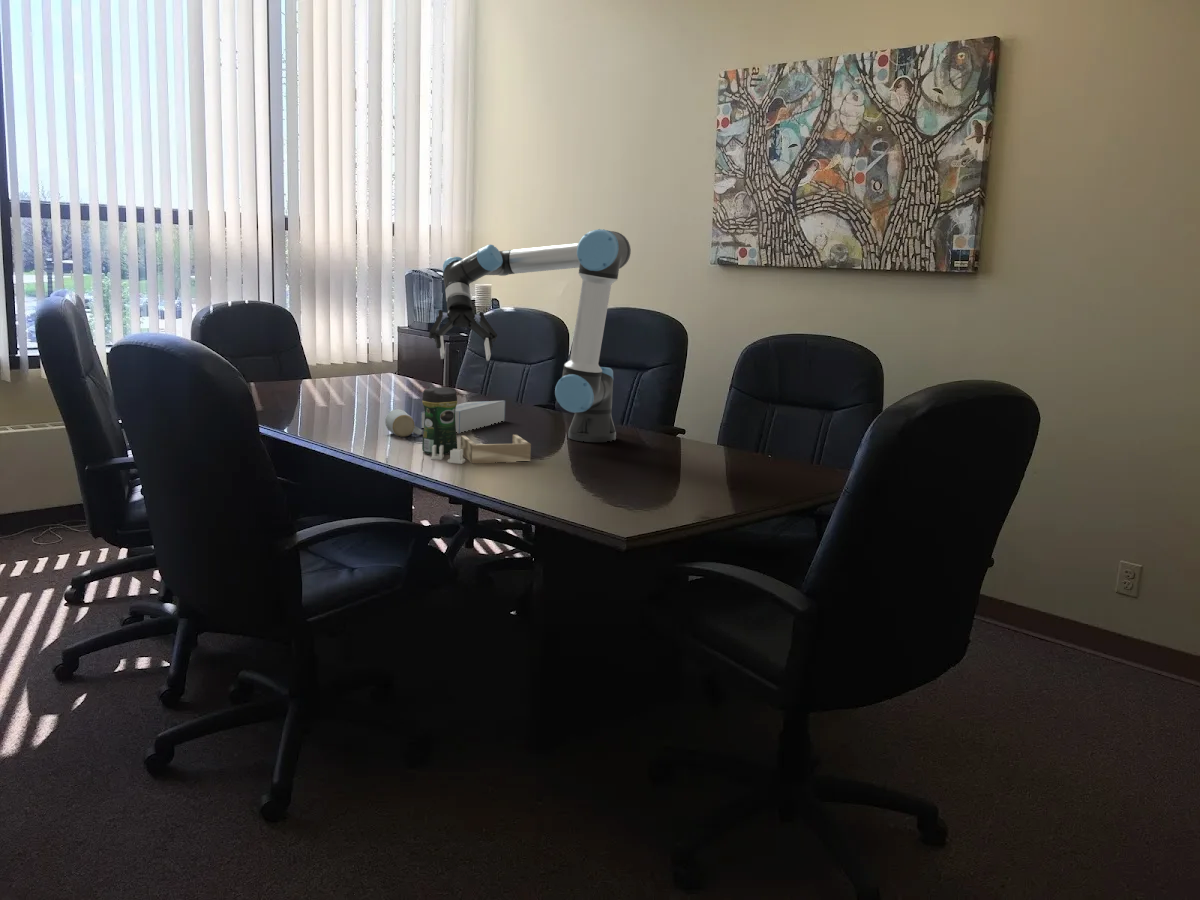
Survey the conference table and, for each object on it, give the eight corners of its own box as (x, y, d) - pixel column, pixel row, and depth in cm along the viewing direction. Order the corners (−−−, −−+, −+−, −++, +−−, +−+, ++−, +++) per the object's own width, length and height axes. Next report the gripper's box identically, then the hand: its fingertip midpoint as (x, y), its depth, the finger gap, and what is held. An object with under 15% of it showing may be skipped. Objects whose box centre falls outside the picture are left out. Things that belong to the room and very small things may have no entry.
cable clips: (437, 455, 269) (437, 443, 269) (470, 462, 263) (470, 449, 262) (425, 458, 265) (425, 446, 265) (458, 464, 259) (458, 452, 258)
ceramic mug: (392, 438, 292) (393, 413, 290) (384, 433, 299) (385, 409, 297) (426, 437, 297) (427, 412, 296) (417, 432, 304) (418, 408, 303)
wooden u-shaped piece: (460, 452, 275) (460, 435, 274) (516, 451, 281) (516, 434, 280) (472, 463, 261) (472, 445, 260) (530, 461, 267) (530, 444, 266)
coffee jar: (444, 448, 280) (445, 384, 277) (461, 452, 275) (462, 388, 271) (416, 451, 274) (417, 386, 270) (433, 456, 268) (434, 390, 265)
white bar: (468, 417, 338) (468, 396, 336) (504, 422, 332) (505, 400, 331) (420, 429, 311) (421, 406, 309) (459, 434, 305) (459, 411, 304)
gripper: (496, 311, 301) (504, 366, 290) (416, 307, 293) (421, 363, 282) (501, 295, 295) (510, 351, 284) (419, 290, 287) (425, 347, 276)
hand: (466, 357), depth 283 cm, fingers open, 13 cm apart
